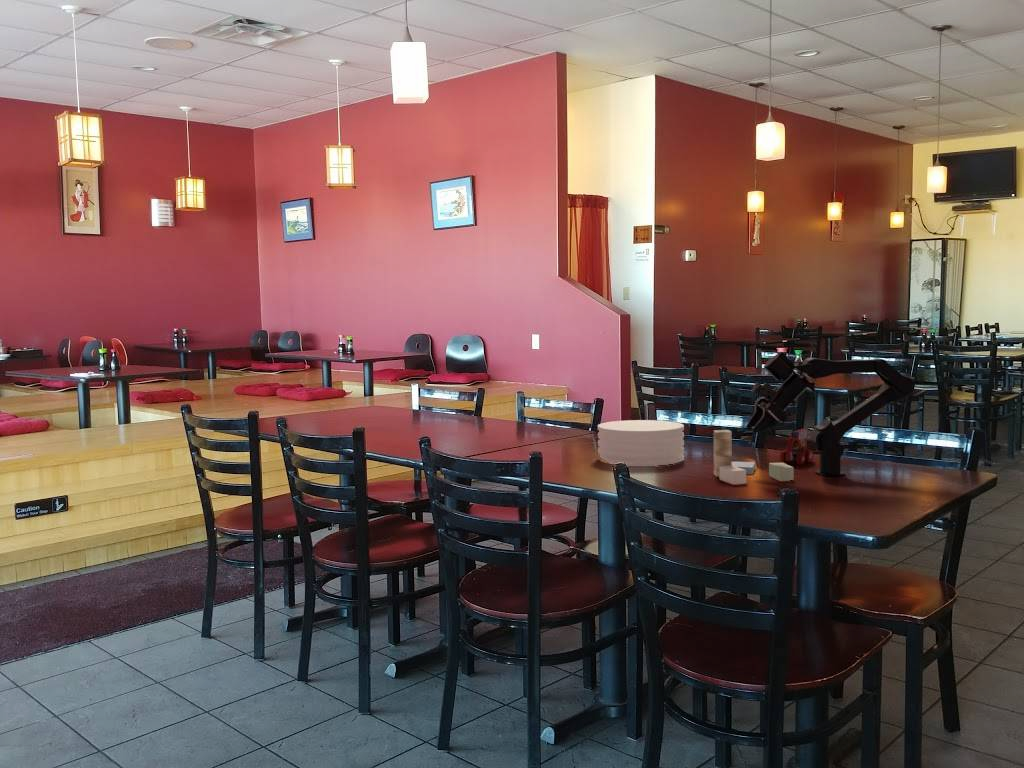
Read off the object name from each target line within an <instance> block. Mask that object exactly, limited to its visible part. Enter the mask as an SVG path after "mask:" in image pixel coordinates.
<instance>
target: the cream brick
mask: <svg viewBox="0 0 1024 768" xmlns="http://www.w3.org/2000/svg"><path fill="white" fill-rule="evenodd" d="M719 480H720V481H723V482H726V483H727V484H731V485H732V486H733V485H743V484H744V485H745V484H747V474H746V470H744V469H741V468H738V467H735V466H720V476H719Z"/></svg>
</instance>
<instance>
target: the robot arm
mask: <svg viewBox="0 0 1024 768" xmlns="http://www.w3.org/2000/svg"><path fill="white" fill-rule="evenodd" d="M763 369H765V370H766V371H767V372H768V373H769V374H770V376H772V377H773V379H775V380H776V381H778V382H779V381H780V380H781V381H784V382H783V383H782V384H781V385H780V386H775V387H774V388H773V389H772V384H770V383H768V382H764V383H763V384H761V383H759V382H757V381H755V382H754V385H753V387H752V389H751V390H750V391H751V393H753V394H755V395H759V396H761V397H758V398H757V399H756V400H754V402H755V403H754V412H753V414H752V416H751V417H750V419H749V421H748V422H747V424H746V426H745V428H747V429H749V430H750V429H752V430H751V431H752V432H753V434H757V433H759V432H762V431H764V430H766V429H769V428H772V427H774V426H777V425H780V424H781V423H782V424H783V423H784V422H786V421H787V419H788V413H787V412H786V410H787V408H788V407H789V406H791V405H794V404H795V403H796V401H795V400H797V399H798V398H799V397H800V396H801V395H802V394H803V393H804V392H805V391H806V389H807V390H809V391H810V392H815V391H816V390H815V389H816V388H815V384H816V382H815V381H809V380H808V379H807V378H810V379H821V378H825V377H830V376H833V375H837V374H838V375H840V374H864V373H865V374H866V373H867V374H868V373H870V374H871V373H875V374H876V376H878V378H879V379H880V380H881V381H882V382H883V384H882V385H881V386H880V387H879V389H878V390H877V391H876V393H874V394H873V395H871V396H869V398H867V399H865V400H864V401H863V402H861V403H859V404H858V405H857V406H855V407H853V408H852V409H851V410H849V411H847V412H846V413H845V414H843V415H842V416H840V417H839V418H837V419H836V420H833V421H831V420H829V419H824V420H822V422H821V423H820V424H818V425H815V426H814V427H813V428H814V429H813V430H812V431H811V433H810V441H811V443H812V444H813V445H814V446H816V448H817V451H818V452H819V467H818V468H819V469H818V470H814V473H815V474H818V475H820V474H821V475H820V476H823V475H824V477H829V476H828V475H837V476H844V475H843V474H845V475H846V473H845V472H843V471H841V462H842V461H841V456H843V454H844V453H845V447H843V445H842V444H841V443H839V442H840V441H841V440H842V439H843V438H844V435H846V433H847V432H849V431H850V430H851V429H853V428H855V427H856V426H857V425H859V424H861V423H862V422H864V421H865V420H866V419H868V418H869V417H871V416H872V415H874V414H875V413H876V412H878V411H879V410H881V409H883V408H884V407H885V406H887V405H888V404H891V403H895V402H897V401H900V400H902V399H905V398H907V397H909V396H911V395H912V394H913V393H914V391H915V383H914V380H913V379H912V378H910V377H908V376H905V375H903V374H902V373H900V372H899V370H897V369H895V368H894V367H893V366H891V364H890V363H888V362H887V360H886V359H883V358H877V357H876V358H872V359H847V360H846V359H845V360H843V359H842V360H832V359H824V358H817V357H806V358H804V360H803V361H801V362H795V363H793V361H792V360H790V359H789V358H788V357H787V356H786V354H785V353H784V352H783V351H779V352H778V353H777V354H775V355H774V356H773V357H772V358H771V357H770V359H768V360H767V361H766V362H765V364H764V365H763ZM797 372H799V373H801V374H803V375H799V374H797Z"/></svg>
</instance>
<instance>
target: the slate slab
mask: <svg viewBox="0 0 1024 768" xmlns="http://www.w3.org/2000/svg"><path fill="white" fill-rule="evenodd" d="M732 466H735V467H738V468H741V469H744V470H746V475H753V474H754V472H755V470H756V463H755V462H754V461H732Z"/></svg>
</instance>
